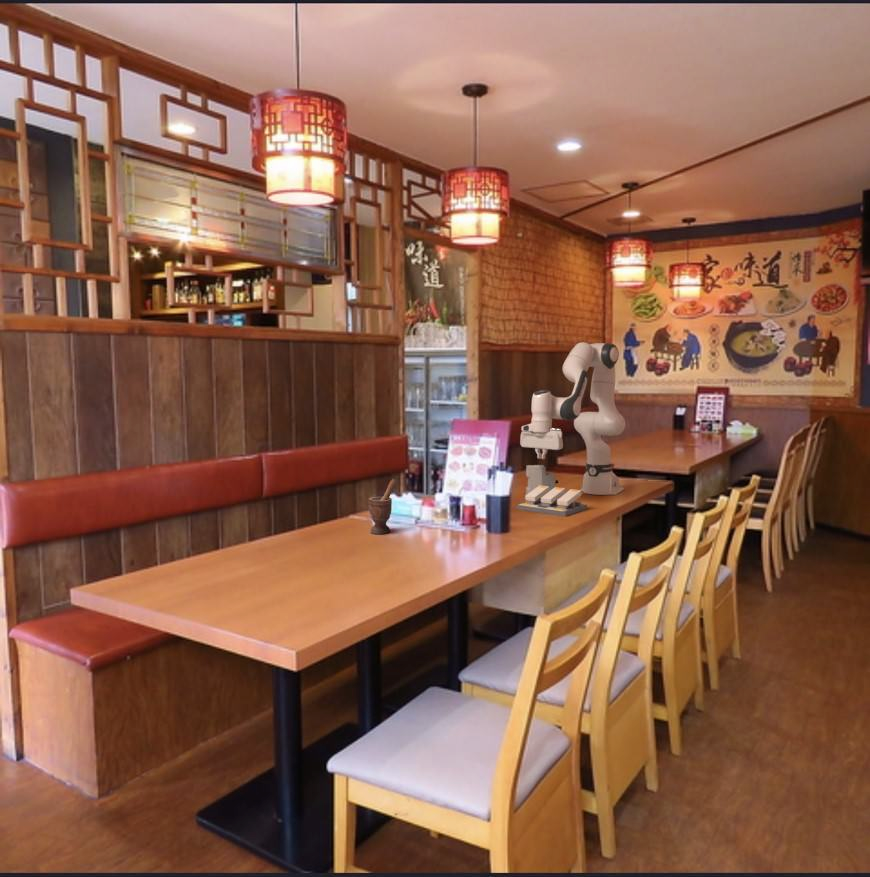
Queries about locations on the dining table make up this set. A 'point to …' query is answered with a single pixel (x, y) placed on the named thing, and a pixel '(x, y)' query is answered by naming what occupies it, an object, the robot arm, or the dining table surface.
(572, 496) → the block
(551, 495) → the rocker
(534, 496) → the block
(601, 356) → the robot arm
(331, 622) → the dining table surface
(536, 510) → the switch unit
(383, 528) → the mortar and pestle
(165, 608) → the dining table surface
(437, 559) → the dining table surface
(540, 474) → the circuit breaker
